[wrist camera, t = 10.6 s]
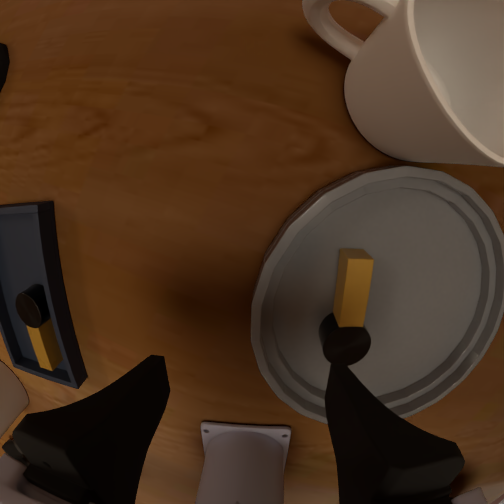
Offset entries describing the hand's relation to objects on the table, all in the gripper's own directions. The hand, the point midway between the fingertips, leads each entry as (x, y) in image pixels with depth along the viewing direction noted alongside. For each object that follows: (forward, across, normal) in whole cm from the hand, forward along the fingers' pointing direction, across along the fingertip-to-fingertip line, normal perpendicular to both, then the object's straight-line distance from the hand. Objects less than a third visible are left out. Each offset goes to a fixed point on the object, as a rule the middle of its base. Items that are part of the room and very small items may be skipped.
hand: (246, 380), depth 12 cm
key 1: (+8, +18, +3) cm, 20 cm away
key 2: (+8, -6, 0) cm, 10 cm away
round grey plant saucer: (+8, -10, 0) cm, 13 cm away
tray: (+8, +20, +1) cm, 22 cm away
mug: (+9, -8, -15) cm, 19 cm away
